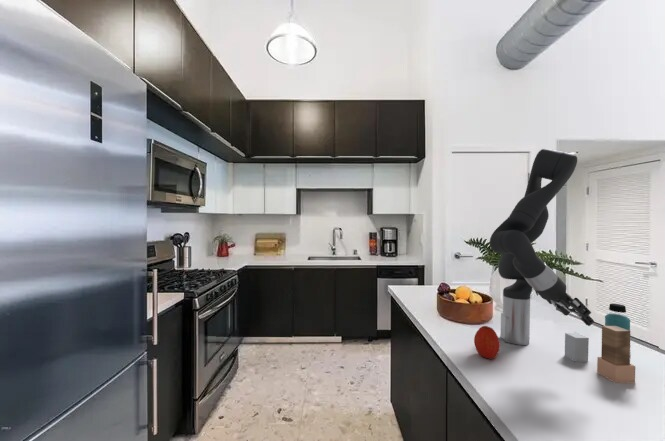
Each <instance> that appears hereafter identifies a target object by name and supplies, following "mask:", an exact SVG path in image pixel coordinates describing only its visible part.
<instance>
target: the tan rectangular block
mask: <svg viewBox="0 0 665 441" xmlns="http://www.w3.org/2000/svg"><path fill="white" fill-rule="evenodd" d="M630 335H631V330H630V331H629V330H626V329H623V328H620V327H618V326H605V325H601V356H600V357H601V358H602V359H604V360H607V361H609V362H611V363H613V364H615V365H630V364H631V362H630V361H631V359H630V352H631V348H630V346H631V344H630V343H631V336H630Z"/></svg>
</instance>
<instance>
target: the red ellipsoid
mask: <svg viewBox="0 0 665 441" xmlns="http://www.w3.org/2000/svg"><path fill="white" fill-rule="evenodd" d="M473 343H474V347H475V350H476V351H477V353H478V354H479V355H480V357H482V358H485V359H488V360H494V359H495V358H496V357H497V356H498V355H499V354H498V353H499V352H500V347H501V344H500V339H499V336H498V334H497V332H496V331H495V330H494V328H492V327H490V326H488V325H483V326H481V327H479V328H478V330H476V332H475V335H474V338H473Z"/></svg>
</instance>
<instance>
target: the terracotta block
mask: <svg viewBox="0 0 665 441" xmlns="http://www.w3.org/2000/svg"><path fill="white" fill-rule="evenodd" d="M596 367H597V368H596V372H597V374H599V375H601V376H603V377H604V378H607V379H608V380H610V381H612V382H613V383H615V384H619V383H621V384H622V383H626V384H628V383H629V384H631V383H634V384H635V383H636V365H634V364H632V363H630V365H615V364H613V363H611V362H609V361H607V360H604V359H602V358H601V356H598V357H597V364H596Z"/></svg>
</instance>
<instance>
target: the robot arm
mask: <svg viewBox="0 0 665 441" xmlns="http://www.w3.org/2000/svg"><path fill="white" fill-rule="evenodd" d="M577 163H578V157H577V155H576V154H573V153H571V152H570V153H569V152H565V151H561V150H555V149H550V148H542V149H540V150H539V151H538V152H537V154H536V156H535V158H534V159H533V163H532V166H531V170H530V173H529V179H528V181H527V185H526V189H525V193H524V195H523V197H522V198H521V199H520V200H519V201H517V204H516V205H515V206H514V208H513V210H512V211H511V213H510V214H509V216H508V217H507V218H506V219H505V220H504V221H503V222H502V223H500V224H499V226H498V227H497V228H495V230H494V231H493V232H492V234H491V236H490V238H489V248H490V250H492V251H493V252H494V253H496V254H501V257H500V259H499V263H498V274H499V276H500V277H501V278H503V279H505V280H512V281H513V280H515V282H514V283H513V284H511V285H508V286H505V287H504V288H503V290H502V312H501V313H500V338H501V339H502V340H503V341H504V342H505V343H508V344H514V345H518V346H519V345H520V346H527V345H529V344H530V339H531V338H530V335H531V334H530V330H531V329H530V328H531V327H530V326H531V320H530V319H531V296H532V295H531V294H532V291H533V290H534V291H535V292H536V294H538V295H539V296H540V297H541V298H542V299H543V300H545V301H547V302H548V304H550V305H553V307H555V308H557V309H558V310H559V311H560V312H561V313H562V315H563V316H565V317H566V316H568V315H569V314H570V313H571V314H572V313H573V314H575V316H577V317H578V318H579V319H580V320H581V321H582V322H583V323H584V324H585V325H586V326H588V327H590V326H591V325H592V324H594V322H595V320H594V319H593V318H592V317H591V316H590V315H591V314H592V311H591V310H589V308H588V307H587V306H586V305H585V304H584V303H583V302H582V301H581V300H580V299H579V298H578V297H574V298H573V297H572V296H571V295H570V294H569V293H567V285H566V284H565V282H564V281H563V280H562V279H561V278H560V277H559V276H558V274H556V273H555V271H554V270H553V269H552V268H550V266H548V265H547V264H546V263H545V262H544V261H543V259H541V257H539V255H537V252H536V250H535V248H534V246H533V245H532V244H533V242H535V241H536V240H538V238H539V237H540V236H541V235H542V234H543V232H544V230H545V228H546V225H547V222H548V220H549V217H550V216H549V210H548V205H549V203H550V202H551V201H552V200H553V199H554V198H555V197H556V195H558V193H559V192H560V191H561V189H563V187H564V186H565V184H566V183H567V182H568V181H569V179H570V178H571V177H572V176H573V174H574V171H575V170H576V167H577V165H578V164H577ZM543 179H546V180H550V182H549V183H548V184H546V185H544V186H542V180H543ZM570 307H571V308H570Z"/></svg>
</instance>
